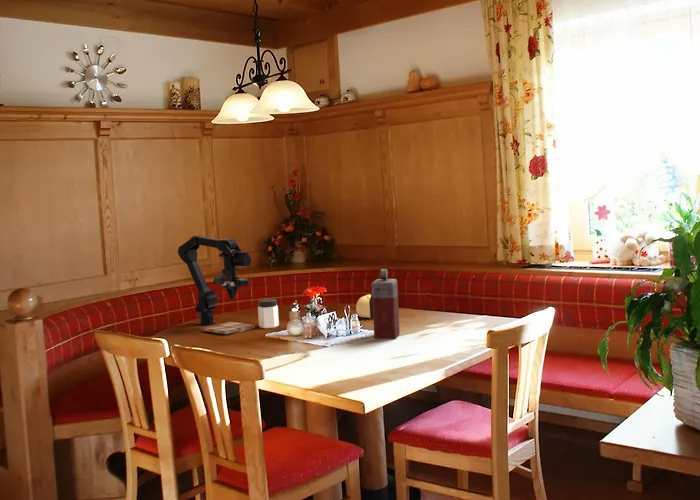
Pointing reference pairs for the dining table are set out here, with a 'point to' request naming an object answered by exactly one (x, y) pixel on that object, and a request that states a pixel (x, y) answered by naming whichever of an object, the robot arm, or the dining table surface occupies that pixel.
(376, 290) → the red grey rectangular bottle
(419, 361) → the dining table surface
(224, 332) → the plank
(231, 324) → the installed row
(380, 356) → the dining table surface
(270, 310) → the jar
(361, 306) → the sculpture
